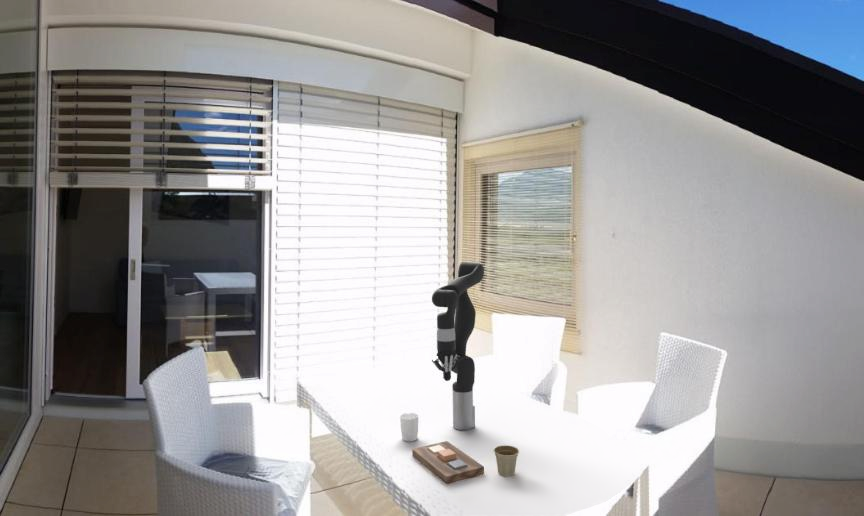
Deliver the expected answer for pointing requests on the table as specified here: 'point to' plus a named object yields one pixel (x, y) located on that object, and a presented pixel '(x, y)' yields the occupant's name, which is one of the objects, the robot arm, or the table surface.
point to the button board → (442, 467)
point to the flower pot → (506, 459)
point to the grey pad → (457, 464)
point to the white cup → (409, 426)
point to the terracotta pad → (446, 455)
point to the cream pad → (435, 449)
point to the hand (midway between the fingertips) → (447, 380)
